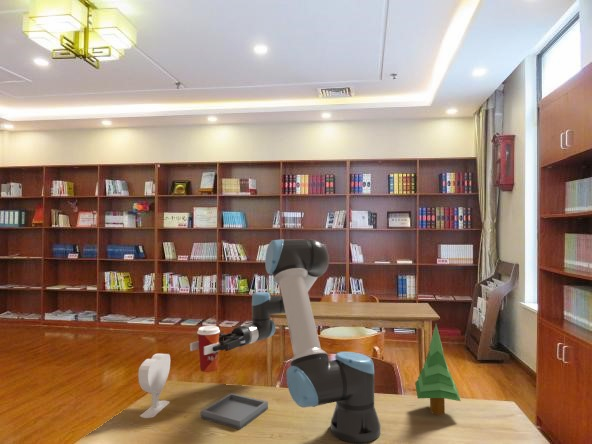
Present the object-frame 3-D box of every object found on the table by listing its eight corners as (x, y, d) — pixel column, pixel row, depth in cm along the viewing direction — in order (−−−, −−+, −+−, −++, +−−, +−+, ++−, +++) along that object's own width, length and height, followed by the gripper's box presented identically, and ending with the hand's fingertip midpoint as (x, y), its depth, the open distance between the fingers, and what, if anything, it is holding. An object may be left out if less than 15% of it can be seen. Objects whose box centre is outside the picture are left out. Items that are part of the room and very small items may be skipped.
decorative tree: (419, 420, 130) (418, 327, 131) (414, 400, 146) (412, 316, 146) (463, 424, 128) (462, 329, 128) (453, 402, 143) (452, 318, 144)
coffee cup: (215, 374, 142) (214, 331, 143) (193, 372, 144) (193, 330, 144) (223, 365, 151) (223, 325, 151) (203, 364, 152) (203, 324, 153)
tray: (267, 408, 140) (267, 401, 140) (240, 429, 126) (240, 421, 126) (231, 399, 148) (230, 392, 148) (200, 418, 133) (200, 410, 134)
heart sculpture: (159, 398, 149) (159, 350, 149) (172, 399, 148) (172, 350, 148) (136, 418, 134) (136, 364, 134) (150, 419, 133) (150, 364, 133)
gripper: (262, 349, 155) (216, 365, 137) (227, 340, 168) (180, 354, 150) (262, 329, 155) (215, 343, 137) (227, 322, 168) (180, 334, 150)
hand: (197, 348), depth 144 cm, fingers closed on coffee cup, 7 cm apart
